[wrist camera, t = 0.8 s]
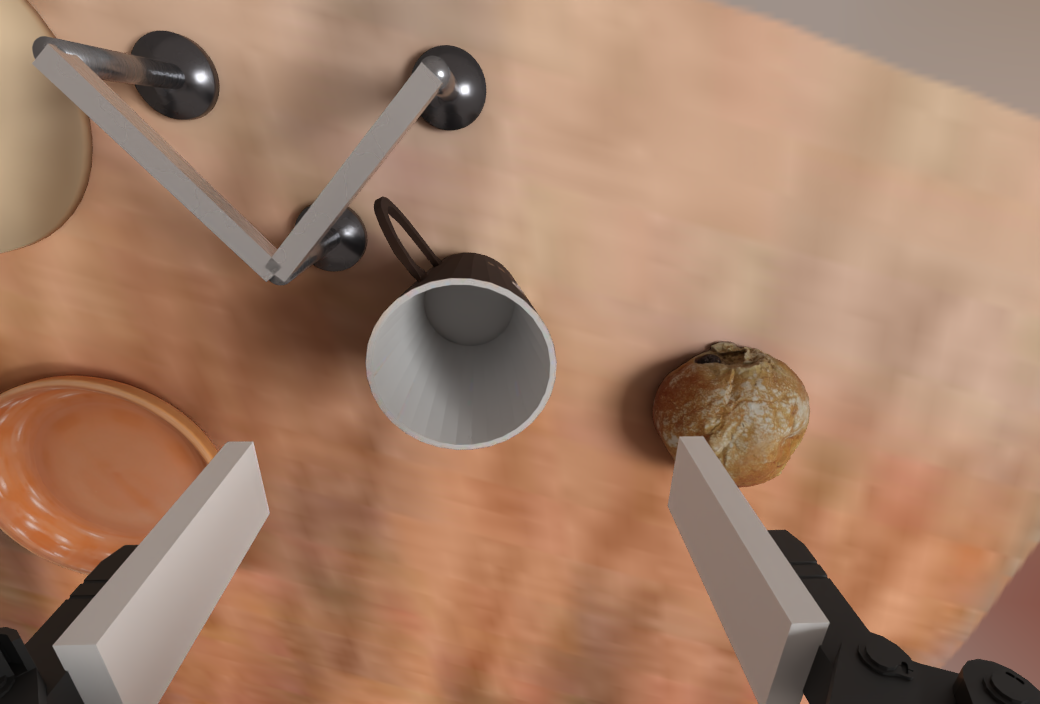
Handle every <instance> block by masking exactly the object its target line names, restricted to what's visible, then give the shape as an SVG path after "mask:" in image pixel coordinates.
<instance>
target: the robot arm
mask: <svg viewBox="0 0 1040 704" xmlns="http://www.w3.org/2000/svg"><path fill="white" fill-rule="evenodd" d="M668 508H669V510H670V512H671V514H672V516H673V519H674V521H675V523H676V525H677V527H678V529H679V532H680V534H681V536H682V538H683V540H684V543H685V545H686V547H687V549H688V551H689V553H690V556H691V558H692V560H693V562H694V564H695V566H696V569H697V571H698V573H699V575H700V577H701V579H702V582H703V584H704V586H705V588H706V590H707V593H708V595H709V597H710V599H711V601H712V603H713V606H714V608H715V610H716V612H717V614H718V616H719V619H720V621H721V623H722V625H723V627H724V630H725V632H726V634H727V636H728V638H729V640H730V643H731V645H732V647H733V649H734V651H735V653H736V656H737V658H738V660H739V662H740V664H741V667H742V669H743V671H744V673H745V675H746V677H747V680H748V682H749V684H750V686H751V688H752V690H753V693H754V695H755V697H756V699H757V701H758V703H759V704H800V702H801V699H802V696H803V694H804V695H805V697H806V698H807V700H808V702H809V704H1040V691H1039V690H1038V689H1037V688H1036V687H1034V686H1033V685H1032V684H1031V683H1030V682H1029V681H1028V680H1026V679H1025V678H1023V677H1022V676H1020V675H1019V674H1017V673H1016V672H1014V671H1013V670H1011V669H1009V668H1007V667H1004V666H1002V665H1000V664H997V663H995V662H992V661H987V660H981V659H976V660H971V661H967V663H966V664H965V665H964V666H963V668H962V669H961V671H960V673H959V674H958V673H955V672H951V671H946V670H943V669H939V668H935V667H931V666H927V665H923V664H920V663H917V662H914V661H912V660H911V658H910V657H909V656H908V655H907V654H906V653H905V652H904V651H903V650H902V649H901V648H900V647H898V646H897V645H896V644H894V643H893V642H891V641H889V640H888V639H886V638H884V637H883V636H880V635H877V634H874V633H871V632H870V631H869V630H868V629H867V628H866V626H865V625H864V624H863V622H862V621H861V620H860V618H859V617H858V616H857V614H856V613H855V612H854V610H853V609H852V608H851V606H850V605H849V604H848V602H847V601H846V600H845V598H844V597H843V596H842V594H841V593H840V592H839V590H838V589H837V588H836V586H835V585H834V584H833V582H832V581H831V579H828V578H827V574H826V573H825V571H824V570H823V569H822V567H821V566H820V565H818V564H817V561H816V559H815V558H814V557H813V555H812V554H811V553H810V551H809V550H808V549H807V547H806V546H805V545H804V544H803V543H802V542H801V541H799V540H798V539H797V538H795V537H794V536H793V535H792V534H790V533H789V532H788V531H786V530H767V529H766V528H765V527H764V525H763V524H762V522H761V521H760V519H759V518H758V516H757V515H756V513H755V512H754V510H753V509H752V507H751V506H750V504H749V503H748V502H747V500H746V499H745V497H744V496H743V494H742V493H741V491H740V490H739V488H738V487H737V485H736V484H735V482H734V481H733V479H732V478H731V477H730V475H729V474H728V472H727V471H726V469H725V468H724V466H723V465H722V463H721V462H720V460H719V459H718V457H717V456H716V454H715V453H714V452H713V450H712V449H711V447H710V446H709V444H708V443H707V441H706V440H705V438H704V437H703V436H682V437H679V441H678V447H677V453H676V459H675V465H674V471H673V477H672V483H671V489H670V496H669V502H668ZM269 514H270V513H269V508H268V504H267V499H266V495H265V491H264V486H263V482H262V478H261V473H260V469H259V465H258V460H257V456H256V451H255V447H254V443H253V442H227V443H226V444H225V445H224V446H223V447H222V449H221V450H220V451H219V452H218V453H217V454H216V456H215V457H214V458H213V459H212V460H211V461H210V463H209V464H208V465H207V466H206V467H205V468H204V470H203V471H202V472H201V473H200V474H199V475H198V477H197V478H196V479H195V480H194V481H193V482H192V484H191V485H190V486H189V487H188V488H187V489H186V491H185V492H184V493H183V494H182V495H181V496H180V498H179V499H178V500H177V501H176V502H175V503H174V505H173V506H172V507H171V508H170V509H169V510H168V512H167V513H166V514H165V515H164V516H163V517H162V519H161V520H160V521H159V522H158V523H157V524H156V526H155V527H154V528H153V529H152V530H151V531H150V533H149V534H148V535H147V536H146V537H145V538H144V540H143V541H142V542H141V543H140V544H139V545H124V546H122V547H121V548H120V549H118V550H117V551H115V552H114V553H112V554H111V555H110V556H108V557H107V558H105V559H104V560H102V561H101V562H100V563H99V564H98V565H97V566H96V567H95V569H94V570H93V571H92V572H91V573H90V574H89V575H88V576H87V577H86V578H85V580H84V583H83V584H80V585H79V586H78V587H77V588H76V589H75V590H74V592H73V593H72V594H71V595H70V598H69V599H68V600H65V601H64V603H63V604H62V605H61V606H60V607H59V608H58V609H57V610H56V611H55V612H54V614H53V615H52V616H51V617H50V618H49V619H48V620H47V621H46V622H45V623H44V624H43V626H42V627H41V628H40V629H39V630H38V631H37V632H36V633H35V634H34V635H33V637H32V638H31V639H30V640H29V641H28V642H27V643H26V644H25V645H24V643H23V641H22V639H21V638H20V636H19V634H18V632H17V630H14V629H11V628H7V627H3V628H0V704H158V703H159V701H160V699H161V698H162V696H163V694H164V693H165V691H166V689H167V687H168V686H169V684H170V682H171V681H172V679H173V677H174V675H175V674H176V672H177V670H178V669H179V667H180V665H181V664H182V662H183V660H184V658H185V657H186V655H187V653H188V652H189V650H190V648H191V647H192V645H193V643H194V641H195V640H196V638H197V636H198V635H199V633H200V631H201V629H202V628H203V626H204V624H205V623H206V621H207V619H208V618H209V616H210V614H211V612H212V611H213V609H214V607H215V606H216V604H217V602H218V601H219V599H220V597H221V595H222V594H223V592H224V590H225V589H226V587H227V585H228V584H229V582H230V580H231V578H232V577H233V575H234V573H235V572H236V570H237V568H238V566H239V565H240V563H241V561H242V560H243V558H244V556H245V555H246V553H247V551H248V549H249V548H250V546H251V544H252V543H253V541H254V539H255V538H256V536H257V534H258V532H259V531H260V529H261V527H262V526H263V524H264V522H265V521H266V519H267V517H268V515H269Z"/></svg>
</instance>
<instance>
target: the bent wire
mask: <svg viewBox="0 0 1040 704" xmlns="http://www.w3.org/2000/svg"><path fill="white" fill-rule="evenodd" d="M32 52H33V55H34V58H35V60H34V62H33V63H32V64H33V65H34V66H35V67H36V68H37V69H38V70H39V71H40V72H41V73H42V74H44V75H45V76H46V77H47V78H48V79H49V80H50V81H51V82H52V83H53V84H54V85H55V86H56V87H57V88H59V89H60V90H61V91H62V92H63V93H64V94H65V95H66V96H67V97H68V98H69V99H70V100H71V101H73V102H74V103H75V104H76V105H77V106H78V107H79V108H80V109H81V110H82V111H83V112H84V113H85V114H86V115H88V116H89V117H90V118H91V119H92V120H93V121H94V122H95V123H96V124H97V125H98V126H99V127H100V128H102V129H103V130H104V131H105V132H106V133H107V134H108V135H109V136H110V137H111V138H112V139H113V140H114V141H115V142H117V143H118V144H119V145H120V146H121V147H122V148H123V149H124V150H125V151H126V152H127V153H128V154H129V155H131V156H132V157H133V158H134V159H135V160H136V161H137V162H138V163H139V164H140V165H141V166H142V167H143V168H144V169H146V170H147V171H148V172H149V173H150V174H151V175H152V176H153V177H154V178H155V179H156V180H157V181H158V182H160V183H161V184H162V185H163V186H164V187H165V188H166V189H167V190H168V191H169V192H170V193H171V194H172V195H173V196H175V197H176V198H177V199H178V200H179V201H180V202H181V203H182V204H183V205H184V206H185V207H186V208H187V209H189V210H190V211H191V212H192V213H193V214H194V215H195V216H196V217H197V218H198V219H199V220H200V221H201V222H202V223H204V224H205V225H206V226H207V227H208V228H209V229H210V230H211V231H212V232H213V233H214V234H215V235H216V236H218V237H219V238H220V239H221V240H222V241H223V242H224V243H225V244H226V245H227V246H228V247H229V248H230V249H231V250H233V251H234V252H235V253H236V254H237V255H238V256H239V257H240V258H241V259H242V260H243V261H244V262H245V263H247V264H248V265H249V266H250V267H251V268H252V269H253V270H254V271H255V272H256V273H257V274H258V275H259V276H260V277H262V278H263V279H264V280H265V281H266V282H267V281H268V280H270V281H271V282H272V283H274V284H276V285H285V284H288V283H289V282H290V281H292V280H293V279H294V278H296V277H297V276H298V275H300V274H301V273H302V272H304V271H305V270H306V269H307V268H309V267H310V266H311V265H314V266H316V267H318V268H320V269H323V270H327V271H342V270H345V269H348V268H350V267H351V266H353V265H354V264H355V263H357V262H358V261H359V259H360V258H361V257H362V256H363V254H364V252H365V250H366V246H367V232H366V229H365V226H364V224H363V222H362V220H361V219H360V217H359V216H358V215H357V214H356V213H355V212H354V211H353V210H352V209H351V208H349V207H348V206H349V205H350V203H351V202H352V201H353V200H354V198H355V197H356V196H357V195H358V193H359V192H360V191H361V189H362V188H363V187H364V186H365V184H366V183H367V182H368V181H369V179H370V178H371V177H372V176H373V174H374V173H375V172H376V171H377V169H378V168H379V167H380V166H381V164H382V163H383V162H384V160H385V159H386V158H387V157H388V155H389V154H390V153H391V152H392V150H393V149H394V148H395V147H396V145H397V144H398V143H399V142H400V140H401V139H402V138H403V136H404V135H405V134H406V133H407V131H408V130H409V129H410V128H411V126H412V125H413V124H414V123H415V121H416V120H417V119H418V118H419V116H420V115H421V116H422V117H423V118H424V119H425V120H426V121H427V122H428V123H430V124H431V125H433V126H435V127H437V128H440V129H444V130H458V129H461V128H464V127H466V126H468V125H470V124H471V123H472V122H473V121H475V120H476V118H477V117H478V116H479V114H480V113H481V111H482V109H483V106H484V103H485V99H486V83H485V78H484V74H483V72H482V70H481V68H480V66H479V64H478V63H477V62H476V60H475V59H474V58H473V57H472V56H471V55H470V54H469V53H467V52H466V51H464V50H463V49H460V48H458V47H455V46H449V45H442V46H437V47H434V48H432V49H430V50H428V51H427V52H425V53H424V54H423V55H422V56H421V57H420V58H419V59H418V61H417V62H416V64H415V66H414V68H413V71H412V74H411V77H410V78H409V79H408V80H407V82H406V83H405V84H404V86H403V87H402V88H401V90H400V91H399V92H398V93H397V95H396V96H395V97H394V99H393V100H392V101H391V103H390V104H389V105H388V106H387V108H386V109H385V110H384V112H383V113H382V114H381V116H380V117H379V118H378V120H377V121H376V122H375V123H374V125H373V126H372V127H371V129H370V130H369V131H368V133H367V134H366V135H365V136H364V138H363V139H362V140H361V142H360V143H359V144H358V146H357V147H356V148H355V149H354V151H353V152H352V153H351V155H350V156H349V157H348V159H347V160H346V161H345V162H344V164H343V165H342V166H341V168H340V169H339V170H338V172H337V173H336V174H335V175H334V177H333V178H332V179H331V181H330V182H329V183H328V185H327V186H326V187H325V189H324V190H323V191H322V192H321V194H320V195H319V196H318V198H317V199H316V200H315V202H314V203H313V204H312V205H310V206H308V207H307V208H306V209H304V210H303V211H302V212H301V214H300V215H299V217H298V218H297V221H296V223H295V228H294V229H293V230H292V231H291V233H290V234H289V235H288V237H287V238H286V239H285V241H284V242H283V243H282V244H281V246H280V247H279V248H278V250H277V249H276V248H275V247H274V246H273V245H272V244H271V243H270V242H269V241H268V240H267V239H266V238H265V237H264V236H263V235H262V234H261V233H260V232H259V231H258V230H257V229H256V228H255V227H254V226H253V225H252V224H251V223H250V222H249V221H247V220H246V219H245V218H244V217H243V216H242V215H241V214H240V213H239V212H238V211H237V210H236V209H235V208H234V207H233V206H232V205H231V204H230V203H229V202H228V201H227V200H226V199H225V198H224V197H223V196H222V195H221V194H220V193H219V192H217V191H216V190H215V189H214V188H213V187H212V186H211V185H210V184H209V183H208V182H207V181H206V180H205V179H204V178H203V177H202V176H201V175H200V174H199V173H198V172H197V171H196V170H195V169H194V168H193V167H192V166H191V165H190V164H189V163H188V162H186V161H185V160H184V159H183V158H182V157H181V156H180V155H179V154H178V153H177V152H176V151H175V150H174V149H173V148H172V147H171V146H170V145H169V144H168V143H167V142H166V141H165V140H164V139H163V138H162V137H161V136H160V135H159V134H158V133H156V132H155V131H154V130H153V129H152V128H151V127H150V126H149V125H148V124H147V123H146V122H145V121H144V120H143V119H142V118H141V117H140V116H139V115H138V114H137V113H136V112H135V111H134V110H133V109H132V108H131V107H130V106H129V105H128V104H127V103H125V102H124V101H123V100H122V99H121V98H120V97H119V96H118V95H117V94H116V93H115V92H114V91H113V90H112V89H111V88H110V87H109V86H108V85H107V84H106V83H105V82H104V81H103V80H106V81H114V82H121V83H129V84H135V86H136V88H137V90H138V92H139V93H140V95H141V96H142V97H143V99H144V100H145V101H146V102H147V103H148V104H149V105H150V106H151V107H152V108H154V109H155V110H156V111H158V112H159V113H161V114H163V115H165V116H168V117H170V118H174V119H182V120H193V119H198V118H201V117H203V116H205V115H206V114H208V113H209V112H210V111H211V110H212V109H213V107H214V106H215V104H216V102H217V99H218V96H219V79H218V74H217V71H216V68H215V66H214V64H213V62H212V61H211V59H210V57H209V56H208V55H207V53H206V52H205V51H204V50H203V49H202V48H201V47H200V46H199V45H198V44H197V43H195V42H194V41H192V40H191V39H189V38H187V37H185V36H182V35H179V34H176V33H173V32H169V31H154V32H150V33H148V34H146V35H144V36H143V37H141V38H140V39H139V40H138V41H137V43H136V44H135V46H134V47H133V50H132V53H131V54H126V53H121V52H117V51H112V50H107V49H103V48H98V47H94V46H89V45H84V44H80V43H75V42H70V41H66V40H61V39H56V38H52V37H47V36H42V37H39V38H37V39H36V40H35V41H34V43H33V46H32Z"/></svg>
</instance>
